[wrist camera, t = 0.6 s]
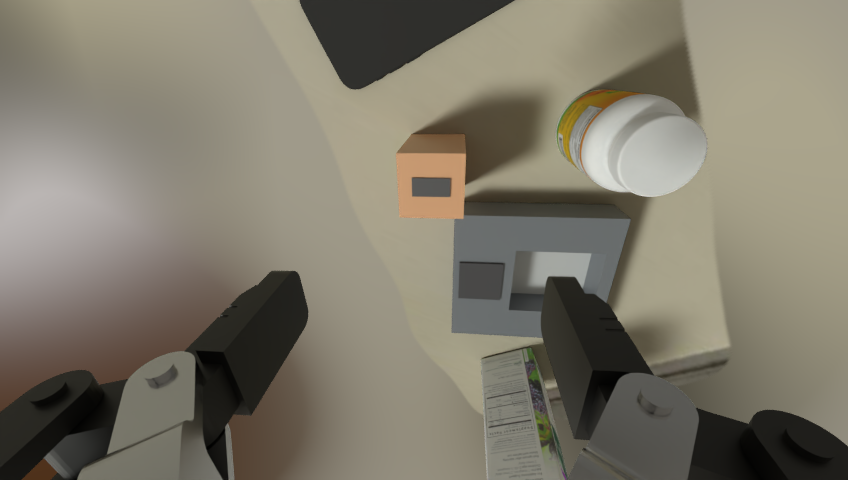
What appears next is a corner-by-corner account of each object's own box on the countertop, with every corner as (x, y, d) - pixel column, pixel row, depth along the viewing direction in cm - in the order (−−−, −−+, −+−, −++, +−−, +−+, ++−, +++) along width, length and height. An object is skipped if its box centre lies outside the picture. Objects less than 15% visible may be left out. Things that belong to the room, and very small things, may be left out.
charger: (411, 134, 26) (395, 153, 20) (464, 134, 26) (466, 153, 19) (413, 185, 28) (399, 217, 22) (462, 185, 27) (463, 219, 21)
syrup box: (545, 381, 37) (590, 547, 24) (494, 391, 38) (511, 552, 25) (530, 345, 35) (571, 506, 22) (477, 358, 36) (486, 515, 23)
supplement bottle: (646, 104, 23) (755, 123, 15) (603, 173, 26) (674, 224, 17) (578, 77, 23) (648, 79, 14) (540, 149, 26) (581, 189, 17)
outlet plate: (455, 201, 28) (454, 216, 25) (614, 204, 27) (632, 220, 24) (452, 312, 34) (451, 334, 31) (584, 318, 32) (596, 342, 29)
